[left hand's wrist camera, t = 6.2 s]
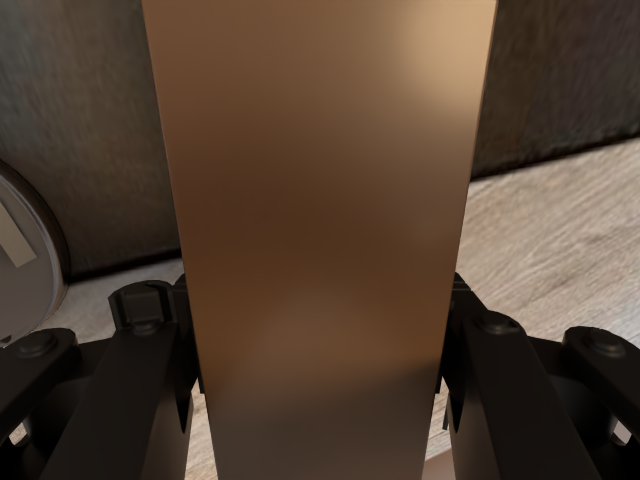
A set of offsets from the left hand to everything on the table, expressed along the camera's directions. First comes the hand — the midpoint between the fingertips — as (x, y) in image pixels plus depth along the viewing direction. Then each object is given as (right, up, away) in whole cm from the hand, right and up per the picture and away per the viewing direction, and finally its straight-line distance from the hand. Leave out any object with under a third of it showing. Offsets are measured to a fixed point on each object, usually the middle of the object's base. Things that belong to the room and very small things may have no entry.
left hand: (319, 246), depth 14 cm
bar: (0, +8, -3) cm, 9 cm away
